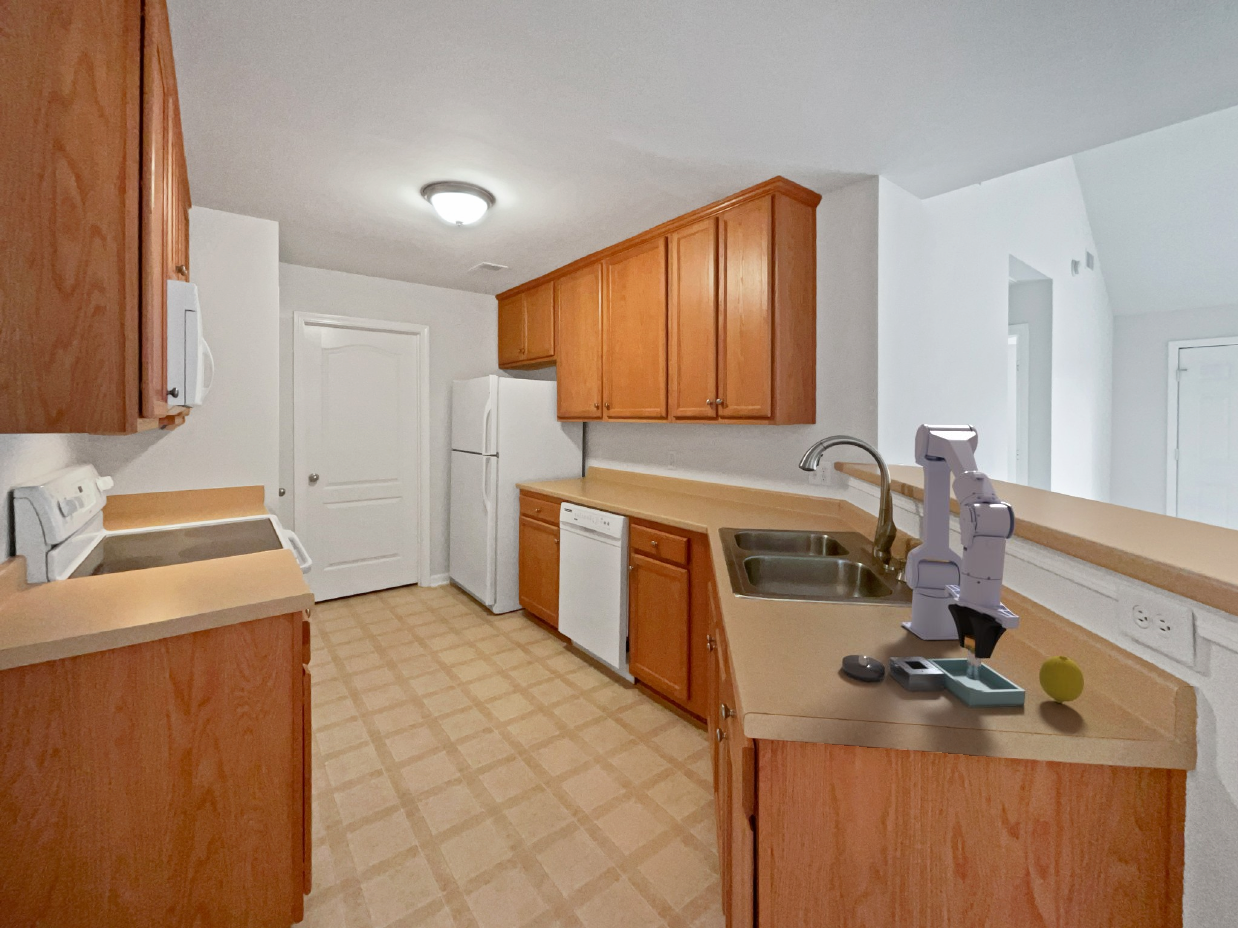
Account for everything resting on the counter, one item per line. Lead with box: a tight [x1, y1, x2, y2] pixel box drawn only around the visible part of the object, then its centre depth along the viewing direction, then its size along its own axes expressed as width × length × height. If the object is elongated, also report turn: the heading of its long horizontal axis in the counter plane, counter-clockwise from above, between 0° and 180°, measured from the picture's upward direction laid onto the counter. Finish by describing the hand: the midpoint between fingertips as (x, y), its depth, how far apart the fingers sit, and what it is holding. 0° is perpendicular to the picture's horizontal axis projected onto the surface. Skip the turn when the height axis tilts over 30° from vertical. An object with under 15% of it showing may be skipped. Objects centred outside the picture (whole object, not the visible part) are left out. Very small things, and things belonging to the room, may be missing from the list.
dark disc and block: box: [841, 654, 944, 692], centre depth 95 cm, size 14×10×3 cm
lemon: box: [1039, 654, 1085, 704], centre depth 86 cm, size 6×6×8 cm
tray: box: [925, 657, 1026, 708], centre depth 91 cm, size 9×11×2 cm
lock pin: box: [964, 634, 983, 681], centre depth 90 cm, size 3×3×7 cm
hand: (974, 652), depth 90 cm, fingers closed on lock pin, 3 cm apart
